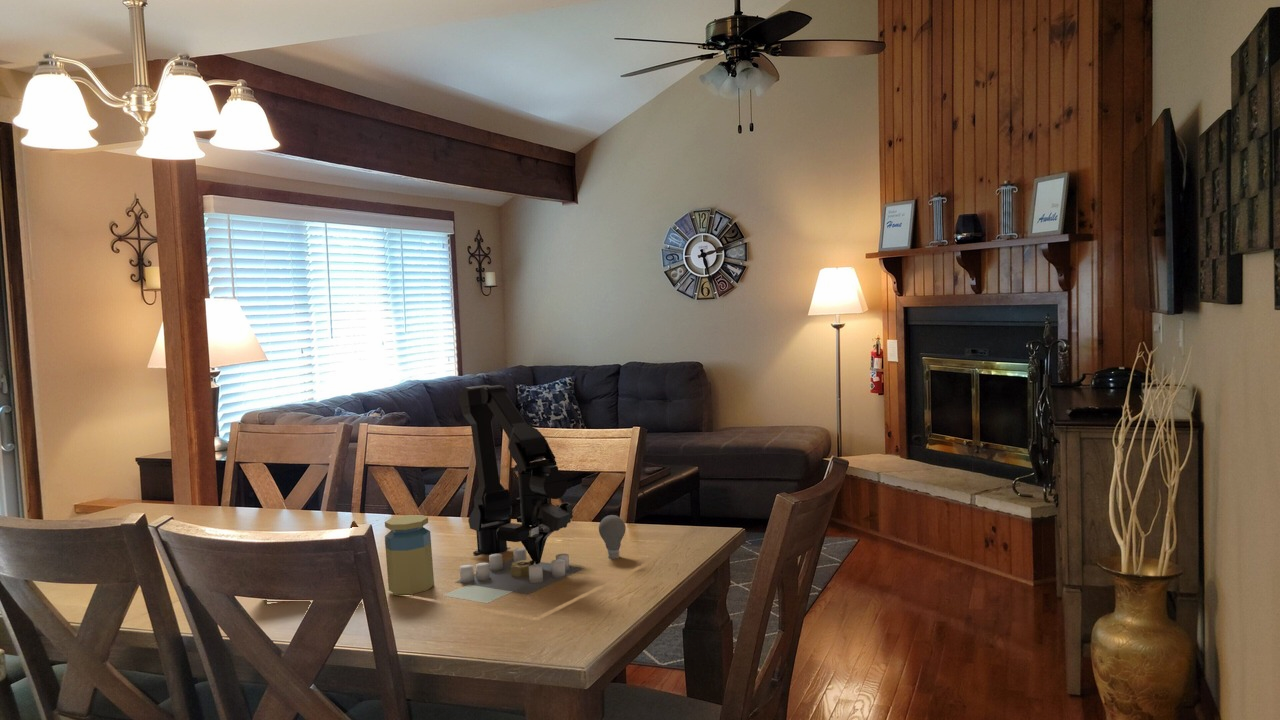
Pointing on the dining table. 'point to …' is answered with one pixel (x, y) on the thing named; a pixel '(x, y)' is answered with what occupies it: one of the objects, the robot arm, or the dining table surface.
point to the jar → (408, 555)
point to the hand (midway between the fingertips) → (537, 563)
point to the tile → (477, 593)
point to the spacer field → (502, 579)
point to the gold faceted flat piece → (521, 568)
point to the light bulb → (612, 534)
